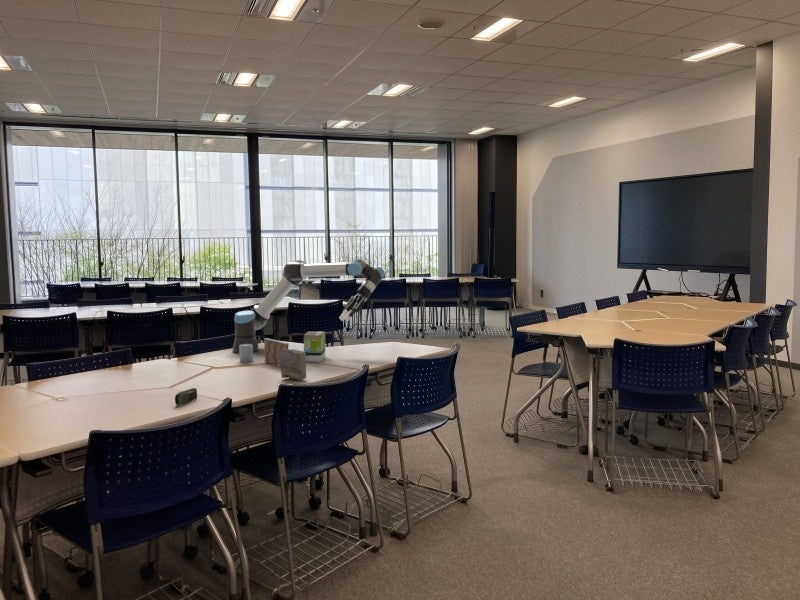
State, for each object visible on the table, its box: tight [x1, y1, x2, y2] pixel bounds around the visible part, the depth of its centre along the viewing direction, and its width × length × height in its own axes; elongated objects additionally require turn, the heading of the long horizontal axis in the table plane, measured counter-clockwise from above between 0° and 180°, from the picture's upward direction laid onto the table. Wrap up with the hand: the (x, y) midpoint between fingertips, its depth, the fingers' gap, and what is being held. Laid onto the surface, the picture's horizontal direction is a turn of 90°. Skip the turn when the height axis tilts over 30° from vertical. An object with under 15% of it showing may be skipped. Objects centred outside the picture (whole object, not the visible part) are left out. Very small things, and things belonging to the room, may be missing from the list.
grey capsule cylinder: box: [239, 344, 254, 363], centre depth 340 cm, size 7×7×9 cm
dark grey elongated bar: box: [174, 387, 198, 408], centre depth 253 cm, size 5×3×15 cm
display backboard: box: [263, 337, 290, 367], centre depth 329 cm, size 24×2×13 cm, turn 39°
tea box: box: [303, 331, 326, 363], centre depth 344 cm, size 15×10×15 cm
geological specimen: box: [280, 348, 307, 381], centre depth 292 cm, size 11×6×15 cm, turn 61°
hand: (343, 319), depth 355 cm, fingers open, 4 cm apart
